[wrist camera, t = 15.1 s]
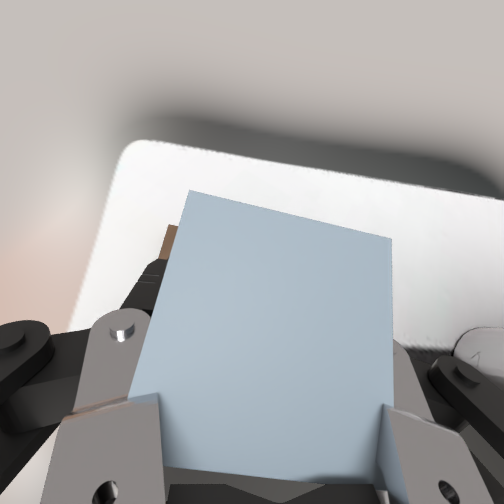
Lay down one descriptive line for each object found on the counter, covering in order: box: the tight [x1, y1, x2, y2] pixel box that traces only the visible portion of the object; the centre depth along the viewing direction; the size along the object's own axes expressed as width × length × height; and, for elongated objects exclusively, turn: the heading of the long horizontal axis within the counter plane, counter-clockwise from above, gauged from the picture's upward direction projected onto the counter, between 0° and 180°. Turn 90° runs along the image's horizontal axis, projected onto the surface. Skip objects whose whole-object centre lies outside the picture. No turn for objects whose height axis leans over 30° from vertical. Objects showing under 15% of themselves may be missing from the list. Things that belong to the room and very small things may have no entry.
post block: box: [127, 190, 394, 491], centre depth 9 cm, size 5×5×10 cm
